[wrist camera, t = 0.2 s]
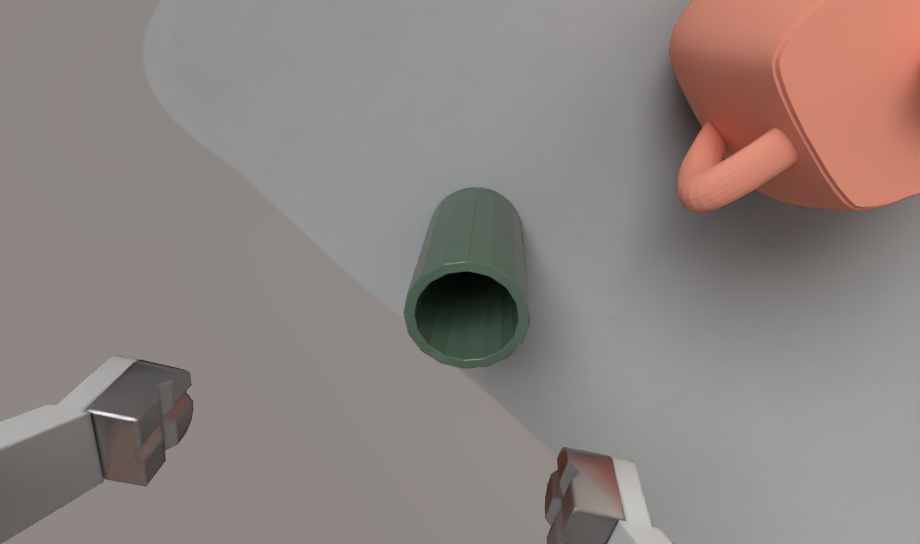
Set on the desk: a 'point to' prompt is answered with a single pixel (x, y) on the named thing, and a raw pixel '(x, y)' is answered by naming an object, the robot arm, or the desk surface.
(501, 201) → the cup
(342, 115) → the desk surface
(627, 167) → the desk surface
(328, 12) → the desk surface
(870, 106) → the teapot
